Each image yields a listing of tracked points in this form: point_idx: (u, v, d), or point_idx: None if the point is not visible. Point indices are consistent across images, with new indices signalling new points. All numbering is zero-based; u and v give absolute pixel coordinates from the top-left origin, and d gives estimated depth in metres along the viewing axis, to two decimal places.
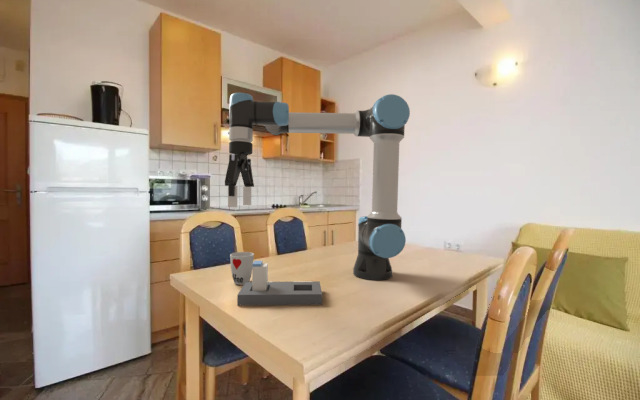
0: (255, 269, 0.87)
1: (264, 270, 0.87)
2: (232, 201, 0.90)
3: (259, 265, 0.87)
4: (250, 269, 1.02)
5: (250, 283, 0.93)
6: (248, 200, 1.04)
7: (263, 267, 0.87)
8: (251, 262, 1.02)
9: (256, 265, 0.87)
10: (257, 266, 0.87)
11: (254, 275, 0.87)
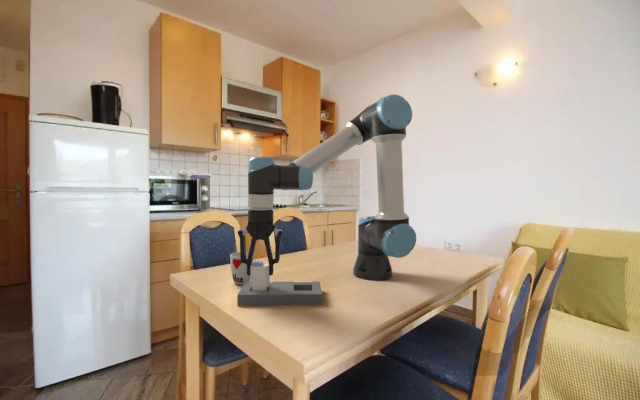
0: (256, 269, 0.87)
1: (264, 270, 0.87)
2: None
3: (259, 265, 0.87)
4: None
5: None
6: (266, 281, 0.88)
7: (263, 267, 0.87)
8: None
9: (256, 265, 0.87)
10: (257, 266, 0.87)
11: (254, 275, 0.87)
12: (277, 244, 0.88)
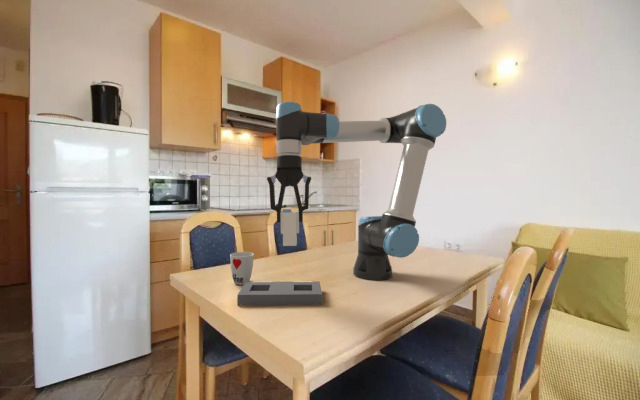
0: (286, 215, 0.87)
1: (294, 216, 0.87)
2: None
3: (289, 211, 0.87)
4: (250, 269, 1.02)
5: (250, 283, 0.93)
6: (296, 228, 0.89)
7: (293, 213, 0.87)
8: (251, 262, 1.02)
9: (286, 211, 0.87)
10: (287, 212, 0.87)
11: (285, 221, 0.87)
12: (306, 190, 0.88)
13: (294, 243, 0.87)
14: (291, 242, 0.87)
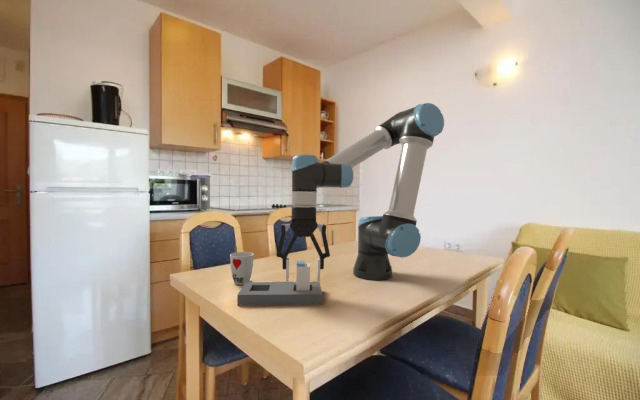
0: (299, 269, 0.88)
1: (308, 270, 0.88)
2: None
3: (303, 265, 0.88)
4: (250, 269, 1.02)
5: (250, 283, 0.93)
6: (317, 275, 0.89)
7: (307, 267, 0.88)
8: (251, 262, 1.02)
9: (300, 265, 0.88)
10: (301, 266, 0.88)
11: (298, 275, 0.88)
12: (324, 239, 0.89)
13: None
14: None
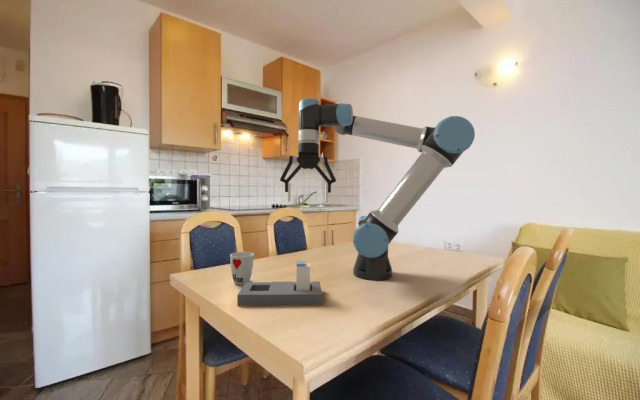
0: (299, 269, 0.88)
1: (308, 270, 0.88)
2: (288, 196, 1.07)
3: (303, 265, 0.88)
4: (250, 269, 1.02)
5: (250, 283, 0.93)
6: (325, 197, 1.07)
7: (307, 267, 0.88)
8: (251, 262, 1.02)
9: (300, 265, 0.88)
10: (301, 266, 0.88)
11: (298, 275, 0.88)
12: (328, 168, 1.06)
13: None
14: None
